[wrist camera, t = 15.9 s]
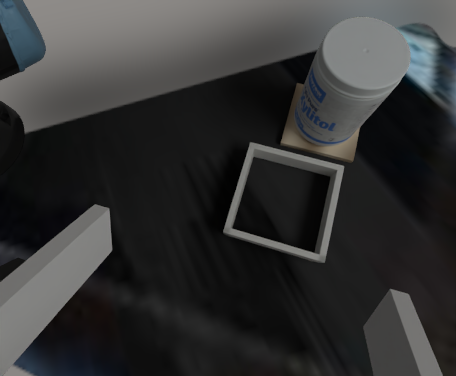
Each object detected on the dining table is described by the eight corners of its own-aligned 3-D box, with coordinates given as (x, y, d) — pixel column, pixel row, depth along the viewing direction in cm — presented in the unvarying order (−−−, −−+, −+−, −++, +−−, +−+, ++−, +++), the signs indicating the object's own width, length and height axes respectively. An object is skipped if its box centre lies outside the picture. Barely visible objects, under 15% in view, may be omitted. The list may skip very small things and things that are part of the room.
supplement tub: (281, 126, 43) (300, 59, 29) (314, 84, 45) (347, 0, 31) (335, 160, 41) (384, 106, 27) (367, 114, 43) (429, 40, 29)
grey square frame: (224, 234, 40) (222, 232, 37) (249, 150, 43) (250, 142, 40) (318, 262, 38) (324, 262, 35) (337, 173, 41) (344, 166, 39)
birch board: (280, 144, 43) (280, 142, 42) (296, 86, 46) (297, 83, 45) (351, 162, 42) (353, 160, 41) (363, 101, 45) (365, 98, 44)
